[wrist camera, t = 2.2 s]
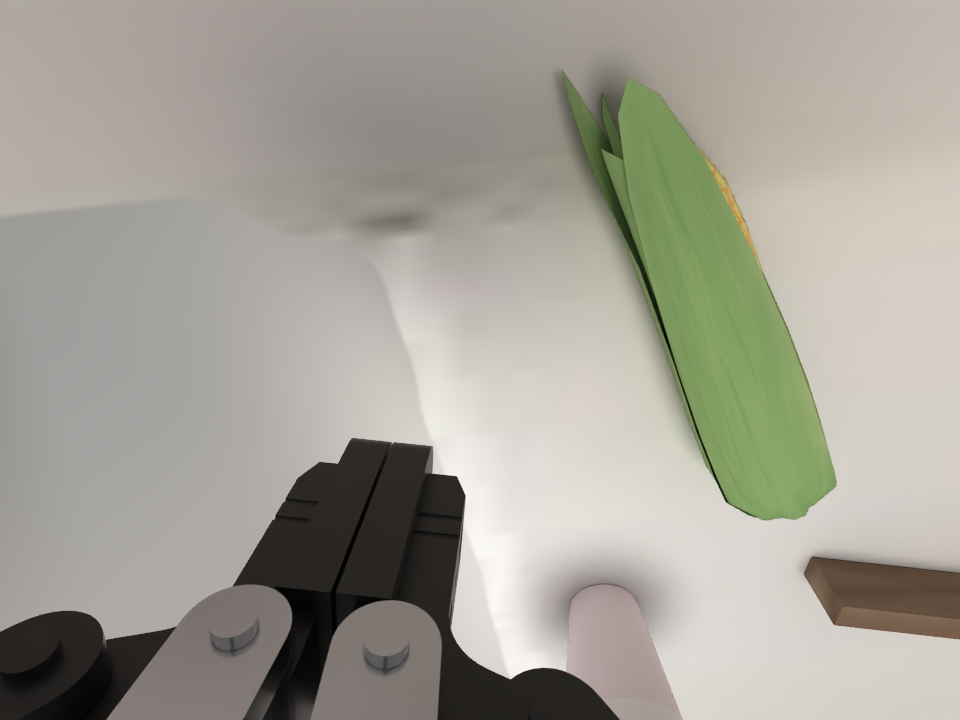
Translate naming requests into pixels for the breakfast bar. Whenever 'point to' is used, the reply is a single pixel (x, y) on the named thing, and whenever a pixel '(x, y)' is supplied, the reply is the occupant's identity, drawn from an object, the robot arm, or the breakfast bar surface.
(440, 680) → the robot arm
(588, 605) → the smoothie
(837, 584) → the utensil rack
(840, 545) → the breakfast bar surface
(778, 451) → the edible corn
